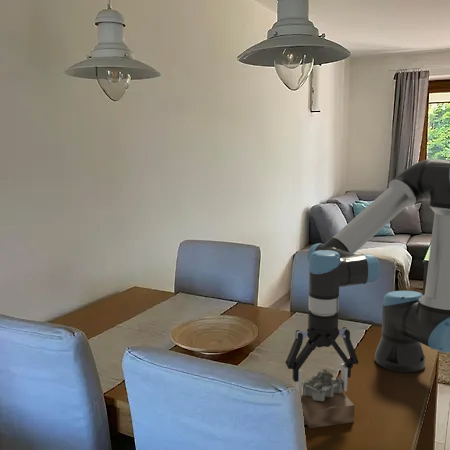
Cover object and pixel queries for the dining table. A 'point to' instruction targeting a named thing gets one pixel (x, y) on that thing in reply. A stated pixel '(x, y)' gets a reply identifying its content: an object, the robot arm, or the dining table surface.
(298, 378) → the robot arm
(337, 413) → the tan flat block
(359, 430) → the dining table surface
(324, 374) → the egg carton
